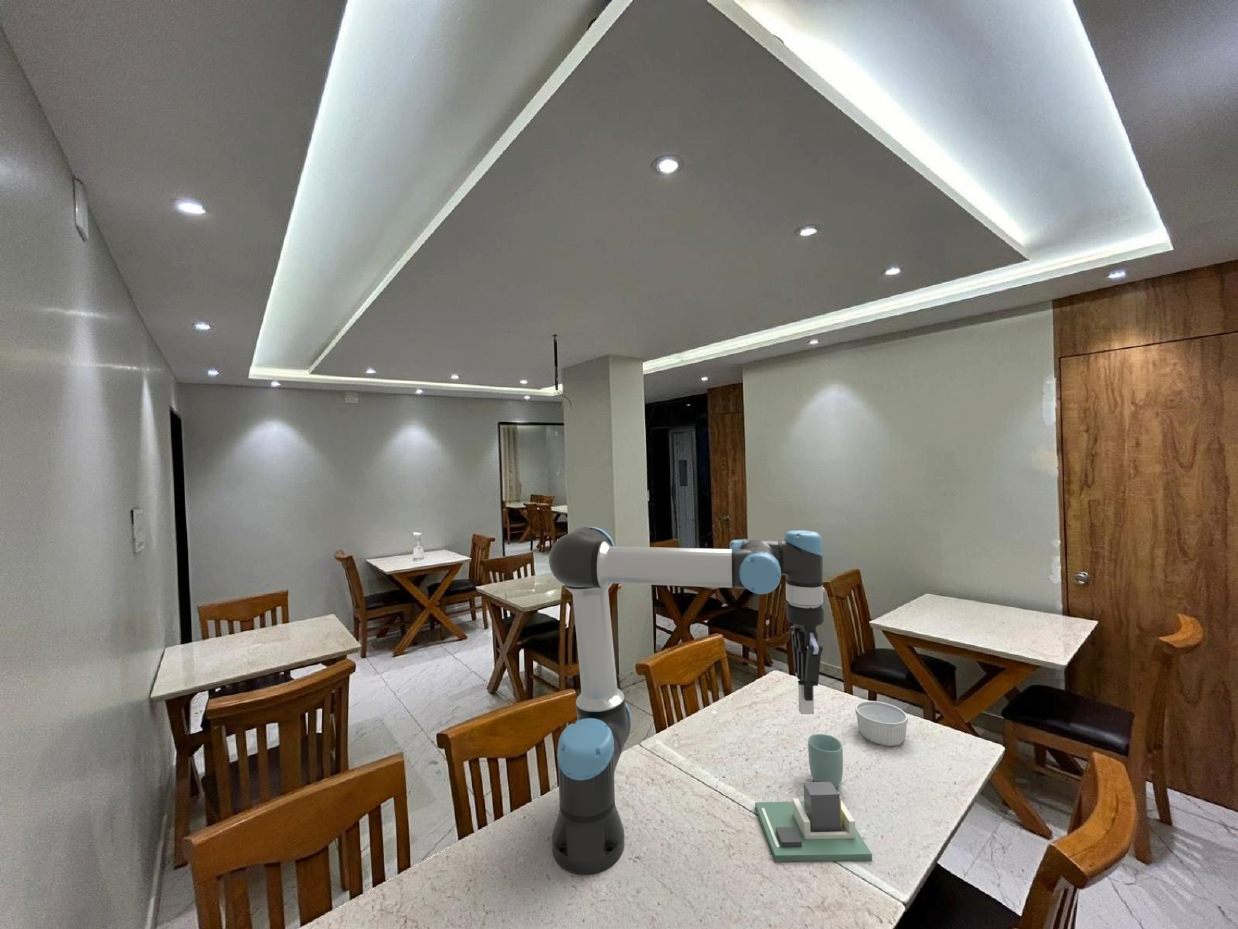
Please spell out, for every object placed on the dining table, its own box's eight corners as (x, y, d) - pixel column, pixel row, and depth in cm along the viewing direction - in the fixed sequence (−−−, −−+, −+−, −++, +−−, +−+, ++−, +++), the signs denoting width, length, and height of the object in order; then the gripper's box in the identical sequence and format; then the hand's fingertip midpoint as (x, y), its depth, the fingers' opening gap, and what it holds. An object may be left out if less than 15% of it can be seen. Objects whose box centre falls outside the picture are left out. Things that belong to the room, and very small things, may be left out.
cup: (847, 795, 112) (846, 753, 112) (812, 792, 114) (811, 750, 114) (839, 774, 120) (838, 734, 120) (806, 771, 122) (805, 732, 122)
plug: (812, 833, 100) (810, 795, 100) (804, 819, 104) (803, 782, 104) (843, 832, 100) (842, 794, 100) (835, 818, 104) (833, 781, 104)
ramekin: (860, 719, 146) (859, 696, 146) (910, 732, 138) (909, 707, 138) (852, 739, 135) (851, 715, 135) (906, 755, 127) (905, 729, 127)
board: (775, 861, 94) (774, 837, 94) (755, 807, 109) (754, 787, 109) (872, 860, 94) (871, 836, 94) (838, 806, 109) (837, 785, 109)
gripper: (835, 612, 96) (836, 729, 96) (810, 594, 109) (812, 697, 109) (797, 612, 97) (799, 729, 96) (777, 595, 110) (779, 697, 110)
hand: (806, 712), depth 103 cm, fingers closed
